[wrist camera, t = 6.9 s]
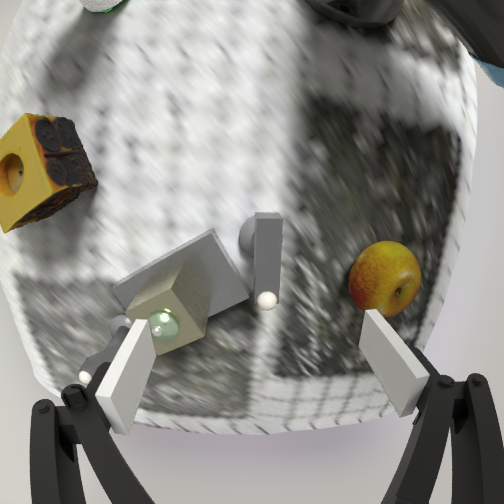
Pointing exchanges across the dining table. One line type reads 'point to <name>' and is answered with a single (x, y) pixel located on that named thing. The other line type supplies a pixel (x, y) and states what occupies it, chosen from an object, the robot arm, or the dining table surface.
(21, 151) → the candle
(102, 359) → the knob
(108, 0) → the cup
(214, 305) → the level base
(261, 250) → the knob
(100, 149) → the dining table surface
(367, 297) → the fruit
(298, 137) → the dining table surface
